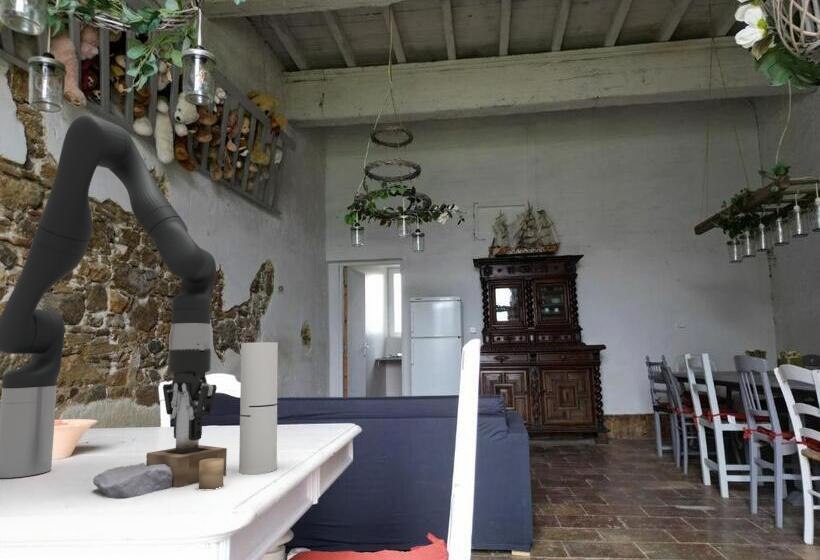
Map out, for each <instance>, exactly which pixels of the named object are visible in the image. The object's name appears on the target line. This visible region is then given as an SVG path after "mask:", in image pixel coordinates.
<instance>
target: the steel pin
mask: <svg viewBox="0 0 820 560" xmlns="http://www.w3.org/2000/svg"><path fill="white" fill-rule="evenodd" d="M192 402H198V400H193V401H192ZM196 409H197V407H195V412H196ZM189 420H191V419H190V416H189V409H188V408H187V407H186V404H185V397H184V393H183V392H178V394H177V423H176V439H175V448H176V452H175V454H181V455H184V454H189V453H194V452H198V450H199V445H200V443H199V441H200V439H199V440H194V441H192V440H189Z"/></svg>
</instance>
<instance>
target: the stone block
mask: <svg viewBox="0 0 820 560" xmlns="http://www.w3.org/2000/svg"><path fill="white" fill-rule="evenodd" d="M172 479H173V475H172V471H171V468H170V467H168V466H167V465H166V464H159V465H150V466H146V463H145V462H142V463H138V464H132V465H128V466H116V467H113V468H109V469H106V470H104V471H103V472H100V473H97V475H95V476H94V477H93V481H92V483H93V486H96V487H97V489H98V490H99V491H101V492H102V493H104V495H106V496H108V497H110V498H112V499H113V498H114V499H115V498H116V499H131V498H136V497H141V496H145V495H148V494H152V493H154V492H159V491H163V490H166V489H169V488H172V487H173V486H172Z"/></svg>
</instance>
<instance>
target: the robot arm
mask: <svg viewBox="0 0 820 560" xmlns="http://www.w3.org/2000/svg"><path fill="white" fill-rule="evenodd" d="M63 139H64V140H63V143H62V146H61V149H60V150H61V152H60V156H59V159H58V164H57V168H56V172H55V176H54V180H53V183H52V186H51V190H50V192H49V195H48V198H47V200H46V201H47V202H46V204H45V207H44V211H43V212H42V215H41V217H40V220H39V222H38V225H37V227H36V229H35V230H36V231H35V233H34V235H33V238H32V241H31V244H30V249H29V252H28V254H27V257H26V259H25V262H24V265H23V267H22V269H21V272H20V275H19V278H18V280H17V281H16V283H15V285H14V288H13V290H12V292H11V295H9V298H8V300H7V302H6V303H5V307H4V308H3V310H2V312H1V315H0V352H1V353H5V354H10V355H11V354H12V355H13V354H14V355H15V354H17V355H18V354H19V355H20V354H22V355H25V354H27V355H28V354H29V355H32V356H31V359H30V361H29V362H28V363H27V364H25V365H23V366H21V367H20V368H18V369H15V370H12V371H8V372H7V373H5V374H4V375H3V377H2V383H1V397H0V399H1V400H0V478H1V479H2V478H3V479H9V478H10V479H11V478H22V477H29V476H34V475H40V474H45V473H48V472H50V471H51V470H52V462H53V450H54V437H55V436H54V435H55V433H54V432H55V421H56V420H55V419H56V417H55V416H56V403H57V402H56V401H57V384H58V377H59V374H60V372H61V367H62V360H63V359H62V358H63V351H64V350H63V349H64V343H65V342H64V341H65V331H66V330H65V329H66V327H65V322H64V321H65V320H64V318H63V316H62V314H60V313H59V312H58V311H56V310H48V309H47V310H46V309H44V310H43V309H36V308H37V307H38V305H39V303H40V302H41V300H42V298H43V297H44V296H45V294H46V293H47V292H48V291H49V290H50V289H51V288H52V287H53V286H54V285H56V284H57V283H58V282H59V281H61V280H62V279H64V278H65V277H67V275H68V274H69V273H71V272H72V271H73V270H74V269H75V268H76V267H77V266H78V265H79V264H80V263H81V262H82V261H83V258H84V256H85V253H86V252H87V249H88V245H89V243H90V240H91V239H92V238H91V237H92V236H93V235H92V234H93V227H94V225H93V218H92V211H91V207H90V199H89V192H90V187H91V183H92V179H93V176H94V174H95V171H96V169H97V167H101V168H106V169H108V170H109V171H110V172H111V173H112V174H114V175H115V176H116V178H117V179H118V180H119V181H120V182H121V184H123V186H124V188H125V190H126V191H127V194H128V197H129V201H130V202H129V203H130V207H131V208H130V209H131V210H132V213H133V215H134V217H135V219H136V221H137V222H138V224H139V225H140V226H141V228H142V229H143V230H144V232H145V233H146V234H147V237H149V238H150V240H151V241H152V242H153V244H155V246H156V250H157V251H158V253H159V256H160V257H161V259H162V261H163V262H164V264H165V266H166V267H167V269H168V270H169V271H170V272H171V273H172V274H173V275H174V276H175V277H176V278H178V279H181V281H180V287H179V288H180V289H179V294H177V295H176V296H174V297H173V300H172V303H171V325H170V332H169V338H168V339H169V341H168V342H169V343H168V344H169V345H168V366H167V367H168V373H170V374H173V378H172V382H171V383H165V384H163V386H162V390H163V397H164V406H165V410H166V411H165V412H166V414H167V415H170V416H171V417H172V419H173V438H174V439H175V440H176V423H177V394H178V392H183V393H184V397H185V404H186V407H187V408H188V409H189V416H190V419H191V420H189V440H192V441H194V440H199V441H200V440H201V438H202V435H203V419H204V418H205V417H207V416H211V414H212V409H213V405H214V401H215V397H216V392H217V385H216V384H210V383H208V381H207V377H206V373H209V372H210V371H211V362H212V361H211V360H212V359H211V357H212V331H211V307H212V306H211V302H212V298H213V294H214V290H215V289H214V288H215V284H216V278H217V263H216V260H215V258H214V256H213V255H212V254H211V253H210V252H209V251H207V250H206V249H203V248H201V247H200V246H199V245H198V244H197V243H196V241H195V240H194V239H193V238H192V237H191V235H190V233H189V232H188V230H189V229H188V227H187V225H186V223H185V222H184V220H183V218H182V217H181V216H180V214H178V212H177V211H176V209H175V208H174V207H173V205H172V204H171V202H170V201H169V200H168V198H166V196H165V194H164V193H163V192H162V190H161V188H160V187H159V186H158V184H157V182H156V181H155V179H154V177H153V176H152V174H151V172H150V170H149V168H148V165H147V164H146V163H145V160H144V158H143V157H142V155H141V153H140V151H139V149H138V147H137V145H136V143H135V142H134V140H133V137H132V136H131V135H130V133H129V132H128V131H127V130H125V128H123V127H122V126H121V125H118V124H115V123H112V122H110V121H109V120H108V121H107V120H104V119H102V118H100V117H97V116H93V115H88V114H84V115H80V116H79V117H77V118H75V119H74V120H73V121H72V122H71V124H69V127H68V129H67V130H66V133H65V135H64V138H63ZM193 400H198V402H192V401H193ZM205 405H206V406H205ZM204 406H205V407H204ZM195 407H197V409H196V412H195Z"/></svg>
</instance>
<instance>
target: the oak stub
mask: <svg viewBox="0 0 820 560" xmlns="http://www.w3.org/2000/svg"><path fill="white" fill-rule="evenodd" d="M224 477H225V476H224V459H223V458H210V459H204V460H201V461H199V482H198V490H200V489H213V490H217V489H216V488H218V489H220V488H219V487H221V488H223V487H224ZM222 486H223V487H222Z"/></svg>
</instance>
